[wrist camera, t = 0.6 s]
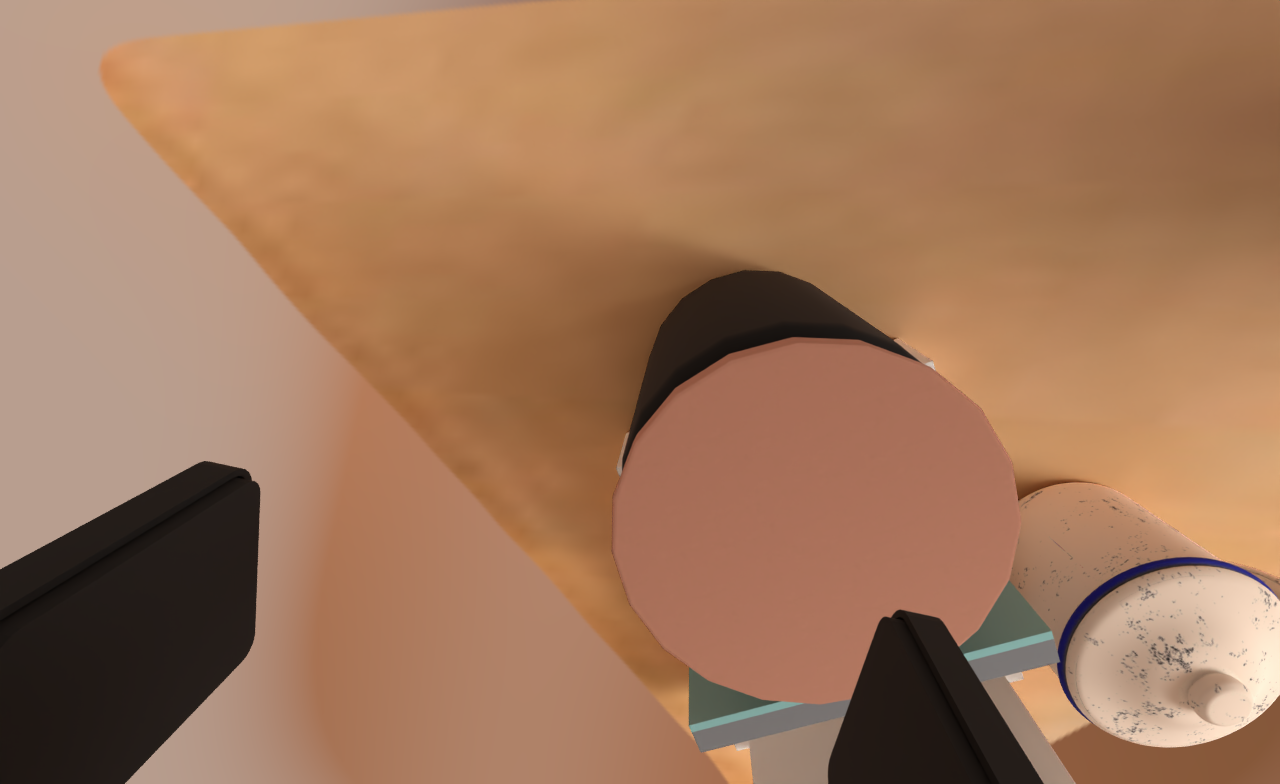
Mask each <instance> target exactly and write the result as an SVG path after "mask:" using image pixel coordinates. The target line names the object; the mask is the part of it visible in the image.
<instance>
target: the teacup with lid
mask: <svg viewBox="0 0 1280 784" xmlns="http://www.w3.org/2000/svg"><path fill="white" fill-rule="evenodd" d="M1018 503H1019V509H1020V515H1021V522H1022V523H1021V527H1020V532H1019V537H1018V541H1017V546H1016V551H1015V555H1014V560H1013V565H1012V569H1011V574H1010V579H1009V580H1010V582H1011V583H1012V584H1013V585H1014V586H1015V588H1016V589H1017V590H1018V591H1019V592H1020V594H1021V595H1022V596H1023V597H1024V598H1025V600H1026V601H1027V602H1028V603H1029V604H1030V606H1031V607H1032V608H1033V609H1034V610H1035V611H1036V613H1037V614H1038V615H1039V616H1040V617H1041V619H1042V620H1043V621H1044V622H1045V623H1046V625H1047V626H1048V627H1049V628H1050V629H1051V631H1052V633H1053V637H1054V641H1055V645H1056V648H1057V652H1058V656H1059V660H1060V662H1058V663H1054V664H1050V665H1049V666H1050V667H1051V669H1052V670H1053V671H1054V672H1055V674H1056V675H1057V676H1058V678H1059V680H1060V683H1061V686H1062V688H1063V691H1064V693H1065V694H1066V696H1067V698H1068V700H1069V701H1070V702H1071V704H1072V705H1073V706H1074V708H1075V709H1076V710H1077V711H1078V712H1079V713H1080V714H1081V715H1082V716H1084V717H1085V718H1086V719H1087V720H1089V721H1090V722H1092V723H1093V724H1095V725H1096V726H1098V727H1099V728H1101V729H1102V730H1104V731H1106V732H1108V733H1110V734H1111V735H1114V736H1116V737H1119V738H1121V739H1124V740H1127V741H1130V742H1133V743H1137V744H1141V745H1147V746H1154V747H1155V746H1156V747H1181V746H1190V745H1196V744H1201V743H1205V742H1208V741H1212V740H1215V739H1218V738H1221V737H1223V736H1226V735H1228V734H1230V733H1232V732H1234V731H1236V730H1238V729H1240V728H1242V727H1244V726H1245V725H1247V724H1248V723H1250V722H1251V721H1253V720H1254V719H1255V718H1257V717H1258V716H1259V715H1261V714H1262V713H1263V712H1264V711H1265V710H1266V709H1267V708H1268V707H1269V706H1270V705H1271V704H1272V703H1273V702H1274V700H1276V698H1277V697H1278V696H1279V694H1280V578H1278V577H1276V576H1274V575H1271V574H1269V573H1266V572H1264V571H1261V570H1258V569H1255V568H1252V567H1249V566H1245V565H1241V564H1237V563H1233V562H1227V561H1222V560H1220V559H1219V558H1217V557H1216V556H1214V555H1213V554H1211V553H1210V552H1208V551H1207V550H1205V549H1204V548H1202V547H1201V546H1199V545H1198V544H1197V543H1195V542H1194V541H1192V540H1191V539H1189V538H1188V537H1186V536H1185V535H1183V534H1182V533H1180V532H1179V531H1177V530H1176V529H1174V528H1173V527H1171V526H1170V525H1168V524H1167V523H1165V522H1164V521H1163V520H1161V519H1160V518H1158V517H1157V516H1155V515H1154V514H1152V513H1151V512H1149V511H1148V510H1146V509H1145V508H1143V507H1142V506H1140V505H1139V504H1137V503H1136V502H1134V501H1133V500H1132V499H1130V498H1129V497H1127V496H1126V495H1124V494H1122V493H1120V492H1118V491H1116V490H1114V489H1112V488H1109V487H1106V486H1103V485H1098V484H1093V483H1083V482H1072V483H1062V484H1057V485H1052V486H1049V487H1046V488H1043V489H1040V490H1038V491H1035V492H1033V493H1031V494H1029V495H1027V496H1026V497H1024V498H1022V499H1021V500H1019V501H1018Z"/></svg>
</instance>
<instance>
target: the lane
mask: <svg viewBox="0 0 1280 784" xmlns="http://www.w3.org/2000/svg"><path fill="white" fill-rule="evenodd" d="M894 341H895V342H896V343H898V344H899V345H900V346H902V347H903V348H904V349H905V350H906V351H908V352H909V353H910V354H911V355H913V356H914V357H915V358H916V359H917V360H919V361H920V362H921V363H923V364H925V365H927V366H930V367H931V368H933V369H934V370H935V367H934V363H933V361H932V360H930V359H929V358H927V357H926V356H924V355H923V354H921V353H920V352H918V351H917V350H915V349H914V348H912V347H911V346H909V345H908V344H906V343H905V342H903V341H902V340H900V339H899V338H897V339H894ZM935 371H936V370H935ZM628 435H629V432H627V433H626V435H625V439H624V442H623V446H622V449H621V453H620V456H619V460H618V464H617V467H616V469H617V472H618V474H619V476H621V473H622V458H623V454H624V450H625V446H626V443H627V439H628ZM1022 679H1024V678H1023V675H1022V672H1019V673H1015V674H1011V675H1007V676H1003V677H999V678H995V679H991V680H987V681H983V682H981V683H982V685H983V687H984V688H985V690H986V691H987V693H988V695H989V696H990V698H991V699H992V701H993V703H994V704H995V706H996V707H997V709H998V711H999V712H1000V714H1001V715H1002V717H1003V719H1004V720H1005V722H1006V723H1007V725H1008V727H1009V728H1010V730H1011V732H1012V733H1013V735H1014V736H1015V738H1016V740H1017V741H1018V743H1019V744H1020V746H1021V748H1022V749H1023V751H1024V752H1025V754H1026V756H1027V757H1028V759H1029V760H1030V762H1031V764H1032V765H1033V767H1034V768H1035V770H1036V772H1037V773H1038V775H1039V777H1040V778H1041V780H1042V781H1043V783H1044V784H1076V783H1075V782H1074V780H1073V779H1072V777H1071V776H1070V774H1069V773H1068V771H1067V770H1066V768H1065V767H1064V765H1063V764H1062V762H1061V761H1060V759H1059V757H1058V756H1057V754H1056V753H1055V751H1054V750H1053V749H1052V747H1051V745H1050V744H1049V742H1048V741H1047V739H1046V738H1045V736H1044V735H1043V733H1042V732H1041V730H1040V729H1039V727H1038V726H1037V724H1036V723H1035V721H1034V720H1033V718H1032V716H1031V715H1030V713H1029V712H1028V710H1027V709H1026V707H1025V706H1024V704H1023V703H1022V701H1021V700H1020V698H1019V697H1018V695H1017V694H1016V692H1015V691H1014V689H1013V688H1012V686H1011V685H1010V682H1014V681H1018V680H1022ZM844 717H845V716H844ZM844 717H840V718H836V719H832V720H828V721H824V722H821V723H817V724H813V725H809V726H805V727H801V728H797V729H793V730H789V731H785V732H781V733H777V734H773V735H769V736H765V737H761V738H757V739H753V740H749V741H745V742H741V743H737V744H734V745H735V747H736V749H737V751H739V750H743V749H747V748H750V756H751V765H752V775H753V784H828V764H829V759H830V756H831V753H832V750H833V747H834V745H835V742H836V739H837V736H838V734H839V731H840V728H841V725H842V723H843V720H844Z"/></svg>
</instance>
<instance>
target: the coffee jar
mask: <svg viewBox="0 0 1280 784" xmlns="http://www.w3.org/2000/svg"><path fill="white" fill-rule="evenodd" d="M1021 523H1022V522H1021V515H1020V509H1019V503H1018V496H1017V490H1016V483H1015V477H1014V470H1013V464H1012V461H1011V459H1010V457H1009V456H1008V454H1007V452H1006V450H1005V449H1004V447H1003V445H1002V444H1001V442H1000V440H999V438H998V437H997V435H996V433H995V432H994V430H993V428H992V426H991V425H990V423H989V421H988V419H987V418H986V416H985V414H984V413H983V411H982V409H981V408H980V407H979V406H978V405H976V404H975V403H974V402H973V401H972V400H970V399H969V398H968V397H967V396H965V395H964V394H963V393H962V392H961V391H959V390H958V389H957V388H956V387H955V386H953V385H952V384H951V383H950V382H948V381H947V380H946V379H945V378H944V377H942V376H941V375H940V374H939V373H937V372H936V371H935V370H934V369H933V368H931V367H930V366H927V365H925V364H923V363H921V362H920V361H919V360H917V359H916V358H915V357H914V356H913V355H911V354H910V353H909V352H908V351H906V350H905V349H904V348H903V347H902V346H900V345H899V344H898V343H896V342H895V341H894V340H892V339H891V338H889V337H888V336H886V335H885V334H883V333H882V332H881V331H879V330H878V329H876V328H875V327H873V326H872V325H870V324H869V323H867V322H866V321H865V320H863V319H862V318H860V317H859V316H857V315H856V314H854V313H853V312H852V311H850V310H849V309H847V308H846V307H844V306H843V305H841V304H840V303H838V302H837V301H836V300H834V299H833V298H831V297H830V296H828V295H827V294H825V293H824V292H823V291H821V290H820V289H818V288H817V287H815V286H814V285H812V284H811V283H808V282H805V281H803V280H800V279H797V278H795V277H792V276H789V275H787V274H784V273H781V272H774V271H747V270H744V271H740V272H737V273H733V274H730V275H726V276H723V277H719V278H716V279H712V280H710V281H708V282H707V283H705V284H704V285H702V286H701V287H699V288H698V289H696V290H695V291H693V292H692V293H690V294H689V295H687V296H686V297H684V298H683V299H682V300H681V301H680V302H679V303H678V305H677V306H676V307H675V308H674V310H673V311H672V312H671V313H670V315H669V316H668V317H667V319H666V320H665V321H664V322H663V324H662V325H661V327H660V330H659V333H658V335H657V338H656V341H655V343H654V346H653V349H652V351H651V354H650V357H649V361H648V365H647V369H646V372H645V376H644V380H643V383H642V387H641V391H640V394H639V398H638V402H637V406H636V409H635V413H634V417H633V420H632V424H631V428H630V432H629V435H628V439H627V443H626V446H625V450H624V454H623V458H622V473H621V476H620V478H619V481H618V484H617V486H616V489H615V491H614V494H613V510H612V554H613V557H614V560H615V563H616V566H617V569H618V572H619V575H620V578H621V581H622V584H623V587H624V589H625V592H626V595H627V598H628V601H629V604H630V606H631V607H632V608H633V610H634V611H635V612H636V614H637V615H638V616H639V618H640V619H641V620H642V622H643V623H644V624H645V625H646V627H647V628H648V629H649V631H650V632H651V633H652V635H653V636H654V637H655V639H656V640H657V641H658V643H659V644H660V645H661V646H662V648H663V649H664V650H666V651H667V652H669V653H670V654H671V655H673V656H674V657H676V658H677V659H679V660H680V661H681V662H683V663H684V664H686V665H687V666H688V667H690V668H691V669H693V670H694V671H695V672H697V673H698V674H700V675H701V676H702V677H704V678H705V679H707V680H708V681H710V682H713V683H716V684H719V685H722V686H725V687H727V688H730V689H733V690H736V691H739V692H742V693H744V694H747V695H750V696H753V697H756V698H759V699H761V700H770V701H783V702H796V703H809V704H826V703H832V702H838V701H843V700H849V699H851V698H852V695H853V692H854V689H855V687H856V684H857V681H858V678H859V675H860V673H861V670H862V667H863V664H864V662H865V659H866V656H867V653H868V651H869V648H870V645H871V642H872V639H873V637H874V634H875V631H876V628H877V626H878V623H879V621H880V620H881V619H882V618H883V617H885V616H886V617H890V618H891V617H892V615H893V614H894V613H895V612H896V611H897V610H900V609H901V610H905V611H910V612H915V613H919V614H924V615H929V616H933V617H937V618H940V619H941V620H942V621H943V622H944V624H945V626H946V627H947V629H948V630H949V632H950V634H951V635H952V637H953V638H954V640H955V642H956V643H957V645H958V646H960V645H962V644H963V643H964V642H965V641H966V640H967V639H968V638H970V637H971V636H972V635H973V634H974V633H975V632H976V631H978V630H979V628H980V627H981V625H982V623H983V622H984V620H985V618H986V617H987V615H988V614H989V612H990V610H991V609H992V607H993V605H994V604H995V602H996V600H997V599H998V597H999V596H1000V594H1001V592H1002V591H1003V589H1004V587H1005V586H1006V584H1007V583H1008V581H1009V579H1010V574H1011V569H1012V565H1013V560H1014V555H1015V551H1016V546H1017V541H1018V537H1019V532H1020V527H1021Z"/></svg>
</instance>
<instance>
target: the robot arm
mask: <svg viewBox="0 0 1280 784" xmlns="http://www.w3.org/2000/svg"><path fill="white" fill-rule="evenodd" d="M259 509H260V487H259V485H258V483H256V482H255V481H252V479H251V476H250V474H249V472H248V471H247V470H245V469H242V468H237V467H232V466H227V465H223V464H218V463H213V462H208V461H204V462H200V463H198V464H196V465H194V466H192V467H190V468H189V469H187V470H185V471H183V472H181V473H179V474H177V475H175V476H174V477H172V478H170V479H168V480H166V481H164V482H162V483H161V484H159V485H157V486H155V487H153V488H151V489H149V490H147V491H146V492H144V493H142V494H140V495H138V496H136V497H134V498H132V499H131V500H129V501H127V502H125V503H123V504H121V505H119V506H118V507H116V508H114V509H112V510H110V511H108V512H106V513H105V514H103V515H101V516H99V517H97V518H95V519H93V520H92V521H90V522H88V523H86V524H84V525H82V526H80V527H78V528H77V529H75V530H73V531H71V532H69V533H67V534H66V535H64V536H62V537H60V538H58V539H56V540H54V541H52V542H51V543H49V544H47V545H45V546H43V547H41V548H40V549H37V550H36V551H34V552H32V553H30V554H28V555H26V556H24V557H23V558H21V559H19V560H17V561H15V562H13V563H12V564H9V565H8V566H6V567H4V568H2V569H0V784H125V783H126V782H127V781H128V780H129V779H130V778H131V776H133V774H134V773H135V772H136V771H137V770H138V769H139V768H140V767H141V766H142V765H143V764H144V763H145V762H146V761H147V760H148V759H149V758H150V757H151V756H152V755H153V754H154V753H155V751H157V749H158V748H159V747H160V746H161V745H162V744H163V743H164V742H165V741H166V740H167V739H168V738H169V737H170V736H171V735H172V734H173V733H174V732H175V731H176V730H177V729H178V728H179V726H181V725H182V723H183V722H184V721H185V720H186V719H187V718H188V717H189V716H190V715H191V714H192V713H193V712H194V711H195V710H196V709H197V708H198V707H199V706H200V705H201V704H202V703H203V702H204V700H206V699H207V697H208V696H209V695H210V694H211V693H212V692H213V691H214V690H215V689H216V688H217V687H218V686H219V685H220V684H221V683H222V682H223V681H224V680H225V679H226V678H227V677H228V676H229V675H230V674H231V672H232V671H233V670H234V669H235V668H236V667H237V666H238V665H239V664H240V663H241V662H242V661H243V660H244V658H245V657H246V656H247V654H248V652H249V651H250V648H251V646H252V644H253V640H254V636H255V619H256V593H257V565H258V540H259V539H258V538H259V513H260V510H259ZM828 784H1044V783H1043V781H1042V780H1041V778H1040V777H1039V775H1038V773H1037V772H1036V770H1035V768H1034V767H1033V765H1032V764H1031V762H1030V760H1029V759H1028V757H1027V756H1026V754H1025V752H1024V751H1023V749H1022V748H1021V746H1020V744H1019V743H1018V741H1017V740H1016V738H1015V736H1014V735H1013V733H1012V732H1011V730H1010V728H1009V727H1008V725H1007V723H1006V722H1005V720H1004V719H1003V717H1002V715H1001V714H1000V712H999V711H998V709H997V707H996V706H995V704H994V703H993V701H992V699H991V698H990V696H989V695H988V693H987V691H986V690H985V688H984V687H983V685H982V683H981V682H980V680H979V679H978V677H977V675H976V674H975V672H974V670H973V669H972V667H971V666H970V664H969V662H968V661H967V659H966V658H965V656H964V654H963V653H962V651H961V650H960V648H959V646H958V645H957V643H956V642H955V640H954V638H953V637H952V635H951V634H950V632H949V630H948V629H947V627H946V626H945V624H944V622H943V621H942V620H941V619H940V618H937V617H933V616H929V615H924V614H919V613H915V612H910V611H905V610H901V609H900V610H897V611H896V612H895V613H894V614H893V615H892V617H891V618H890V617H886V616H885V617H883V618H882V619H881V620H880V621H879V623H878V626H877V628H876V631H875V634H874V637H873V639H872V642H871V645H870V648H869V651H868V653H867V656H866V659H865V662H864V664H863V667H862V670H861V673H860V675H859V678H858V681H857V684H856V687H855V689H854V692H853V695H852V698H851V700H850V703H849V706H848V709H847V711H846V714H845V717H844V720H843V723H842V725H841V728H840V731H839V734H838V736H837V739H836V742H835V745H834V747H833V750H832V753H831V756H830V759H829V764H828Z"/></svg>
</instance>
